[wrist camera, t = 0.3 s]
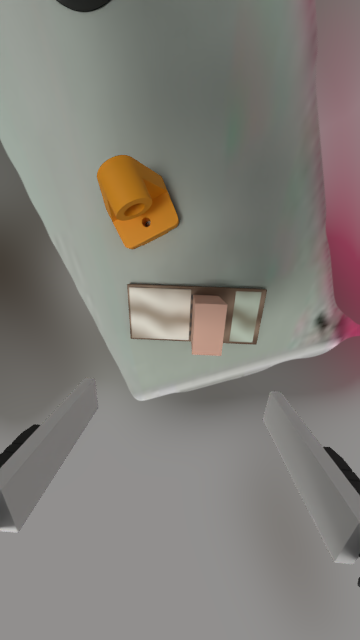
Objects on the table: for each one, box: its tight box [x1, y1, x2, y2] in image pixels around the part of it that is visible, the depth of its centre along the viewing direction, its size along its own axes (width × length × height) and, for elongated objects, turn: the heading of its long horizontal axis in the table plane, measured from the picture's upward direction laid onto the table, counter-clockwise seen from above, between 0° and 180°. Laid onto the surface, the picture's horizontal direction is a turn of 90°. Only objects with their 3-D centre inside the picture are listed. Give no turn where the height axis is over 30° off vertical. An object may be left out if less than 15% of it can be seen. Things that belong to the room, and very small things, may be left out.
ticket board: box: [127, 284, 267, 344], centre depth 36 cm, size 12×28×2 cm, turn 88°
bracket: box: [97, 155, 179, 249], centre depth 26 cm, size 11×7×12 cm, turn 114°
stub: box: [191, 295, 227, 356], centre depth 31 cm, size 9×5×8 cm, turn 178°
